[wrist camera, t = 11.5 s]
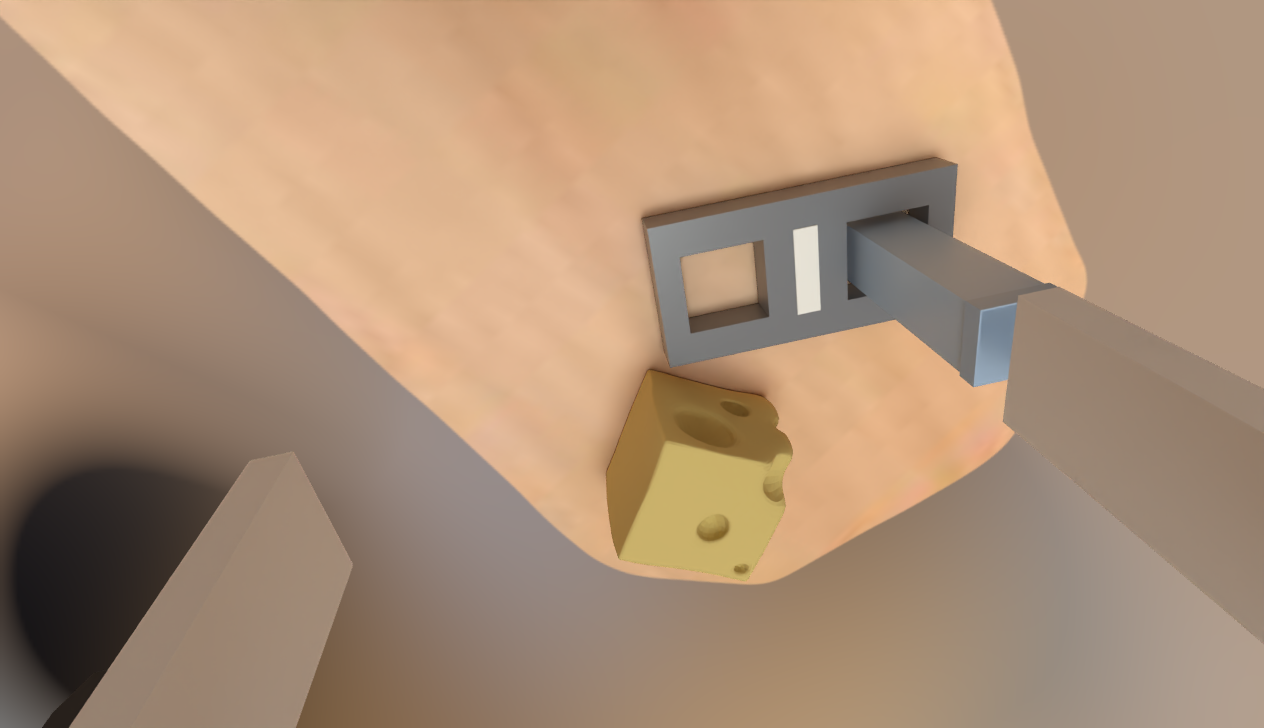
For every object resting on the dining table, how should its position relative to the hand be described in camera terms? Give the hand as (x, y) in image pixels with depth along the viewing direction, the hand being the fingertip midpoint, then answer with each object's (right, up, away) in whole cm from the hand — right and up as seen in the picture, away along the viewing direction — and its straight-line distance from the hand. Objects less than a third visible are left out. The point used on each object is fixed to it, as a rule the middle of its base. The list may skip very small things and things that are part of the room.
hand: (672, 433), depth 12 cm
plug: (+16, +10, +33) cm, 38 cm away
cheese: (+3, -4, +39) cm, 39 cm away
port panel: (+11, +9, +33) cm, 36 cm away
